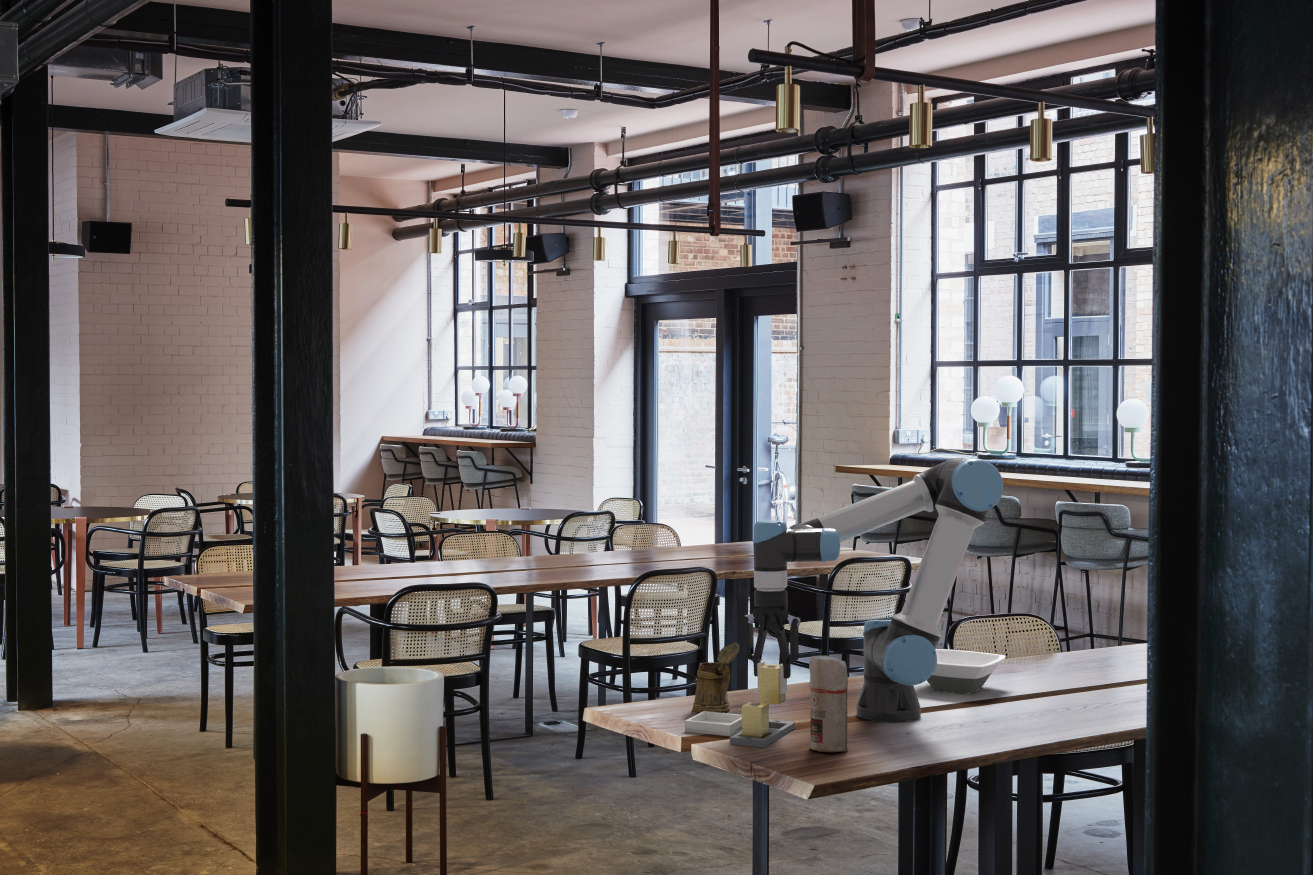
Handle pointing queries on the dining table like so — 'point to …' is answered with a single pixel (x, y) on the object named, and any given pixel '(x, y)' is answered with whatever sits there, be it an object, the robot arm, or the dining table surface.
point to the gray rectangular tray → (774, 734)
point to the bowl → (963, 670)
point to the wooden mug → (715, 682)
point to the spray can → (828, 704)
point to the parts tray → (714, 723)
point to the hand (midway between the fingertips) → (772, 691)
